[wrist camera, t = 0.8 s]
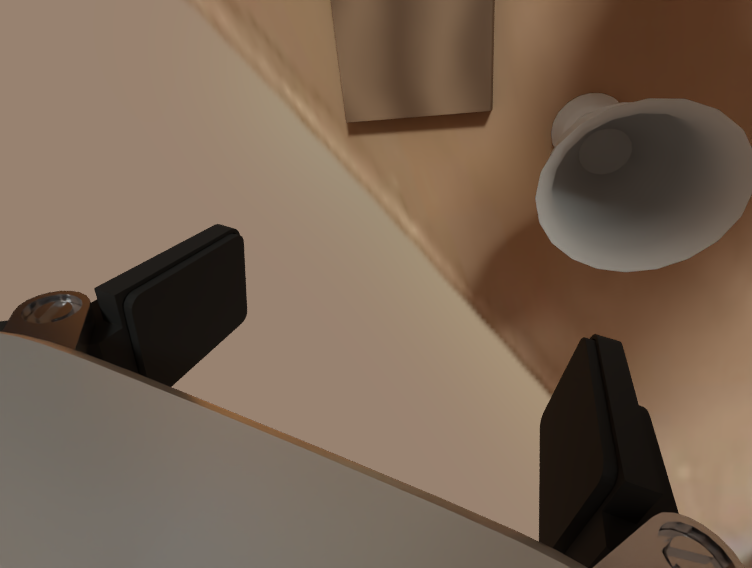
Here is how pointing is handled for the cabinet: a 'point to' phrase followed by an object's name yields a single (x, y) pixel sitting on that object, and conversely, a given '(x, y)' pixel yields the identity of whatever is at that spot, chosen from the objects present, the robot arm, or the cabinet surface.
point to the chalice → (642, 181)
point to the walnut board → (414, 57)
